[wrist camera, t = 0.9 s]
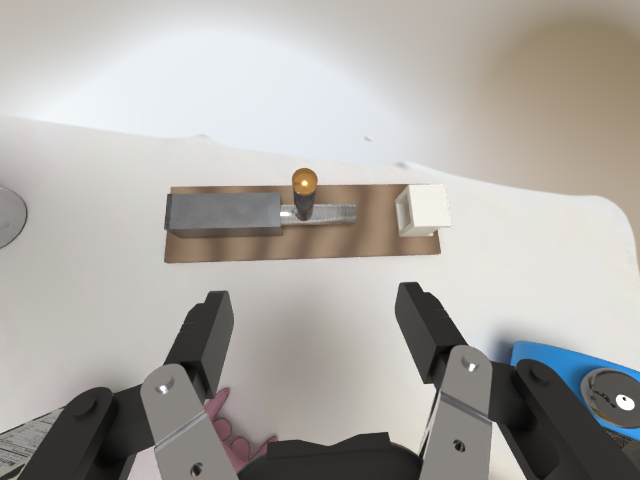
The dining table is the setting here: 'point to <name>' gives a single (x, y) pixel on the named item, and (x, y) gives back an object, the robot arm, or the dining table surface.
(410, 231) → the socket
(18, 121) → the dining table surface
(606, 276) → the dining table surface
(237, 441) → the video game controller
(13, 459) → the candy bar box
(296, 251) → the base board
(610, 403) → the alarm clock
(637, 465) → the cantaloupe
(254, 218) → the outer sleeve
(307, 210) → the sliding bolt
